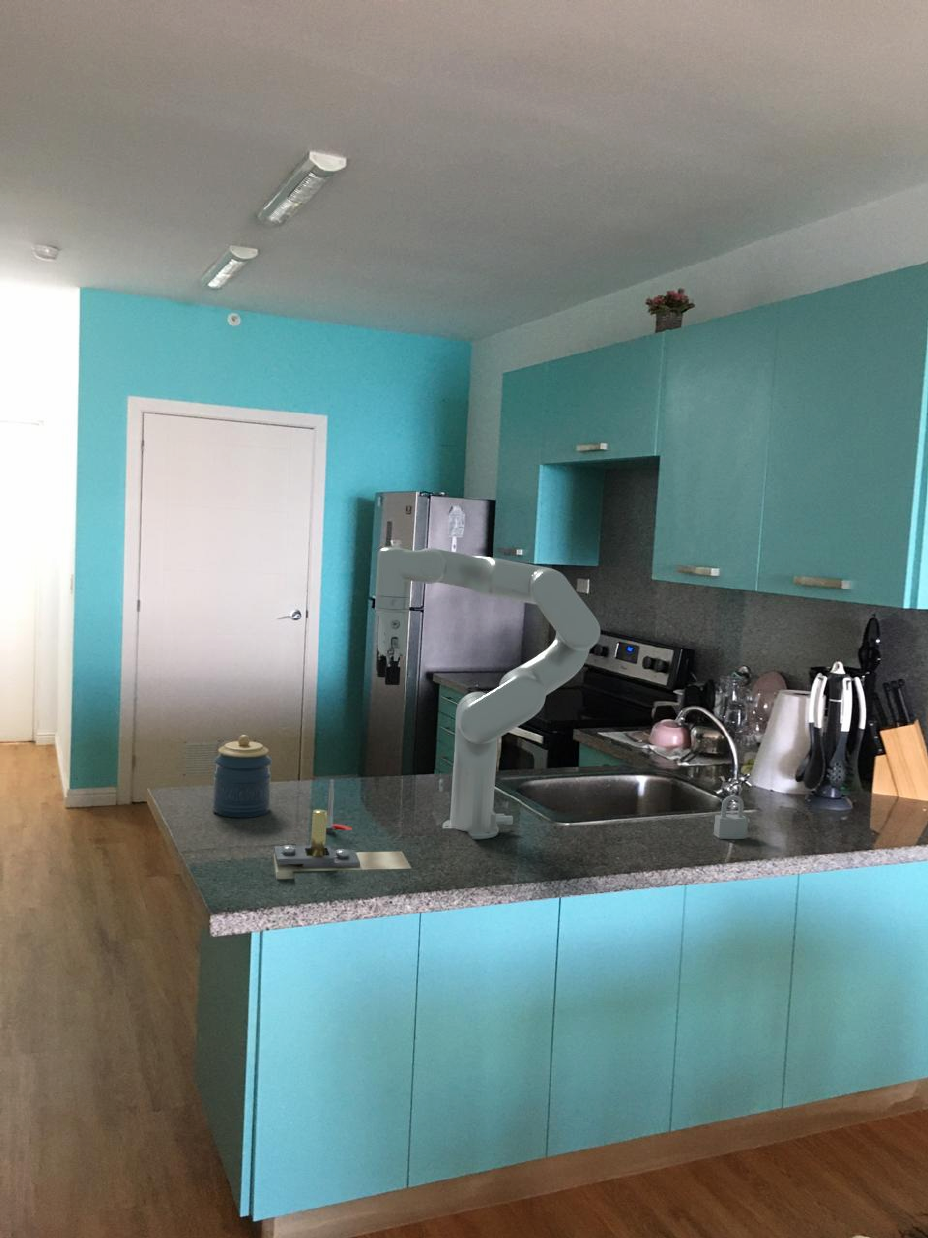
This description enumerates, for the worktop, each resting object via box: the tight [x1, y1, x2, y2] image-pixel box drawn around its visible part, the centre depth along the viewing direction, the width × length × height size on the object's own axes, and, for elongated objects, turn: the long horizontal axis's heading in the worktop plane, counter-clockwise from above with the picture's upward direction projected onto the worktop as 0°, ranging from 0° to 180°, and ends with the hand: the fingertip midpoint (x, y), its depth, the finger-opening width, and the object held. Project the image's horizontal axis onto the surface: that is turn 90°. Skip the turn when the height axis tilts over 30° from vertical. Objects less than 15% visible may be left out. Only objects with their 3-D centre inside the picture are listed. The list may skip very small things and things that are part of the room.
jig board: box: [272, 850, 412, 880], centre depth 204 cm, size 26×10×2 cm, turn 104°
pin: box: [309, 809, 327, 856], centre depth 203 cm, size 3×3×10 cm
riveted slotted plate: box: [273, 844, 360, 869], centre depth 203 cm, size 16×8×3 cm, turn 104°
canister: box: [212, 734, 273, 819], centre depth 237 cm, size 13×13×18 cm
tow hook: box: [326, 779, 353, 834], centre depth 225 cm, size 8×13×9 cm
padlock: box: [713, 794, 749, 840], centre depth 241 cm, size 7×4×10 cm, turn 102°
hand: (388, 680), depth 229 cm, fingers open, 9 cm apart
